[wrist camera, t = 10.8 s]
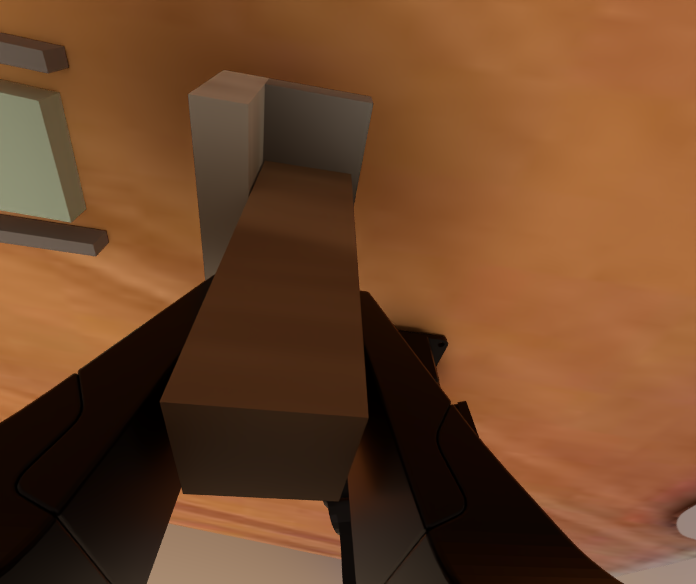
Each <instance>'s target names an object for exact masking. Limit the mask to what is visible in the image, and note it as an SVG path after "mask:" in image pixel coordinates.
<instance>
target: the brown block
mask: <svg viewBox="0 0 696 584" xmlns="http://www.w3.org/2000/svg"><path fill="white" fill-rule="evenodd" d="M188 100H189V110H190V121H191V132H192V143H193V153H194V164H195V175H196V185H197V196H198V207H199V218H200V228H201V239H202V250H203V260H204V271H205V280H207V279H208V278H210V277H211V276H212V275H214V274H215V276H214V278H213V280H212V283H211V285H210V287H209V290H208V292H207V294H206V297H205V299H204V301H203V303H202V306H201V308H200V310H199V313H198V315H197V317H196V319H195V322H194V324H193V326H192V329H191V331H190V333H189V335H188V338H187V340H186V342H185V345H184V347H183V349H182V351H181V354H180V356H179V358H178V361H177V363H176V365H175V368H174V370H173V372H172V374H171V377H170V379H169V381H168V384H167V386H166V388H165V390H164V393H163V395H162V397H161V400H160V406H161V410H162V413H163V417H164V421H165V425H166V429H167V433H168V437H169V441H170V445H171V449H172V452H173V456H174V460H175V464H176V468H177V472H178V476H179V480H180V484H181V488H182V491H183V494H194V495H215V496H236V497H256V498H277V499H298V500H318V501H339V499H340V497H341V494H342V491H343V488H344V485H345V483H346V480H347V477H348V474H349V471H350V469H351V466H352V463H353V460H354V457H355V455H356V452H357V449H358V446H359V443H360V441H361V438H362V435H363V432H364V429H365V427H366V424H367V421H368V418H369V416H368V402H367V388H366V374H365V360H364V346H363V332H362V318H361V304H360V290H359V276H358V262H357V248H356V234H355V220H354V202H355V197H356V192H357V186H358V181H359V176H360V171H361V165H362V160H363V155H364V150H365V145H366V139H367V134H368V129H369V124H370V118H371V113H372V108H373V101H372V98H371V97H370V96H364V95H359V94H353V93H348V92H342V91H337V90H331V89H326V88H320V87H315V86H309V85H304V84H298V83H293V82H288V81H282V80H277V79H271V78H266V77H260V76H255V75H249V74H244V73H238V72H233V71H227V70H223V71H221V72H220V73H218V74H217V75H215V76H214V77H212V78H211V79H209V80H208V81H206V82H205V83H204V84H202V85H201V86H199V87H198V88H196V89H195V90H193V91H192V92H190V93H189V94H188Z"/></svg>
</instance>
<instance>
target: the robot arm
mask: <svg viewBox="0 0 696 584" xmlns="http://www.w3.org/2000/svg"><path fill="white" fill-rule="evenodd" d="M214 276H215V274H214V275H212V276H211V277H210V278H208V279H207V280H205V281H204V282H203V283H201V284H200V285H198V286H197V287H195V288H194V289H193V290H191V291H190V292H188V293H187V294H186V295H184V296H183V297H181V298H180V299H178V300H177V301H176V302H174V303H173V304H171V305H170V306H169V307H167V308H166V309H164V310H163V311H161V312H160V313H159V314H157V315H156V316H154V317H153V318H152V319H150V320H149V321H147V322H146V323H145V324H143V325H142V326H140V327H139V328H137V329H136V330H135V331H133V332H132V333H130V334H129V335H128V336H126V337H125V338H123V339H122V340H120V341H119V342H118V343H116V344H115V345H113V346H112V347H111V348H109V349H108V350H106V351H105V352H104V353H102V354H101V355H99V356H98V357H96V358H95V359H94V360H92V361H91V362H89V363H88V364H87V365H85V366H84V367H82V368H81V369H79V370H78V374H76V373H74V374H72V375H71V376H69V377H68V378H66V379H65V380H64V381H62V382H61V383H59V384H58V385H57V386H55V387H54V388H52V389H51V390H49V391H48V392H46V393H45V394H43V395H42V396H40V397H39V398H37V399H36V400H35V401H33V402H32V403H30V404H29V405H27V406H26V407H24V408H23V409H21V410H20V411H18V412H17V413H15V414H13V415H12V416H10V417H9V418H7V419H5V420H4V421H2V422H1V423H0V584H147V581H148V578H149V575H150V573H151V570H152V567H153V564H154V561H155V559H156V556H157V553H158V550H159V548H160V545H161V542H162V539H163V537H164V534H165V531H166V528H167V526H168V523H169V520H170V517H171V514H172V512H173V509H174V506H175V503H176V501H177V498H178V495H179V492H180V489H181V484H180V480H179V476H178V472H177V468H176V464H175V460H174V456H173V452H172V449H171V445H170V441H169V437H168V433H167V429H166V425H165V421H164V417H163V413H162V410H161V406H160V400H161V397H162V395H163V393H164V390H165V388H166V386H167V384H168V381H169V379H170V377H171V374H172V372H173V370H174V368H175V365H176V363H177V361H178V358H179V356H180V354H181V351H182V349H183V347H184V345H185V342H186V340H187V338H188V335H189V333H190V331H191V329H192V326H193V324H194V322H195V319H196V317H197V315H198V313H199V310H200V308H201V306H202V303H203V301H204V299H205V297H206V294H207V292H208V290H209V287H210V285H211V283H212V280H213V278H214ZM360 304H361V318H362V332H363V346H364V360H365V374H366V388H367V402H368V416H369V418H368V421H367V424H366V427H365V429H364V432H363V435H362V438H361V441H360V443H359V446H358V449H357V452H356V455H355V457H354V460H353V463H352V466H351V469H350V471H349V474H348V477H347V480H346V483H345V485H344V488H343V491H342V494H341V497H340V499H339V501H323V502H324V505H325V506H326V507H327V508H328V510H329V515H330V519H331V523H332V525H333V528H334V530H335V532H336V533H337V534H339V535H340V542H341V558H342V578H343V584H624V583H622V582H620V581H618V580H617V579H616V578H614V577H613V576H611V575H610V574H609V573H607V572H606V571H605V570H603V569H602V568H601V567H600V566H598V565H597V564H596V563H595V562H593V561H592V560H591V559H590V558H589V557H588V556H587V555H585V554H584V553H583V552H582V551H581V550H580V549H579V548H578V547H577V546H576V545H575V544H574V543H573V542H572V541H571V540H570V539H569V538H568V537H567V536H566V535H565V534H564V533H563V531H562V530H561V529H560V528H559V527H558V526H557V525H556V524H555V523H554V521H553V520H552V519H551V518H550V517H549V516H548V515H547V514H546V513H545V512H544V510H543V509H542V508H541V507H540V506H539V505H538V504H537V503H536V502H535V500H534V499H533V498H532V497H531V496H530V495H529V494H528V493H527V492H526V491H525V489H524V488H523V487H522V486H521V485H520V484H519V483H518V482H517V481H516V479H515V478H514V477H513V476H512V475H511V474H510V473H509V472H508V471H507V470H506V468H505V467H504V466H503V465H502V464H501V463H500V461H499V460H498V459H497V458H496V457H495V456H494V455H493V453H492V452H491V451H490V450H489V449H488V448H487V446H486V445H485V444H484V443H483V442H482V440H481V439H480V438H479V436H478V433H477V430H476V427H475V425H474V422H473V419H472V416H471V413H470V411H469V408H468V405H467V402H466V401H462V402H458V404H454V405H453V404H452V405H451V401H450V399H449V398H448V397H447V395H446V394H445V393H444V391H443V390H442V389H441V387H440V384H439V377H438V373H437V369H436V366H437V364H438V362H439V360H440V359H441V357H442V355H443V353H444V351H445V350H446V348H447V346H448V342H447V339H446V338H445V337H443V336H437V335H430V334H422V333H415V332H407V331H400V330H397V329H396V328H395V326H394V325H393V324H392V322H391V321H390V320H389V318H388V317H387V316H386V314H385V313H384V312H383V310H382V309H381V308H380V306H379V305H378V304H377V302H376V301H375V300H374V298H373V297H372V296H371V294H370V293H369V292H367V291H360ZM441 342H442V343H441Z"/></svg>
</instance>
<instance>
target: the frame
mask: <svg viewBox="0 0 696 584" xmlns="http://www.w3.org/2000/svg"><path fill="white" fill-rule="evenodd" d="M0 63H1V64H6V65H11V66H15V67H20V68H25V69H30V70H34V71H39V72H44V73H51V72H55V71H59V70H62V69H66V68H69V67H68V62H67V58H66V53H65V49H64V46H59V45H55V44H50V43H46V42H41V41H37V40H32V39H28V38H23V37H19V36H14V35H9V34H5V33H0ZM0 242H1V243H8V244H15V245H22V246H29V247H35V248H42V249H49V250H56V251H63V252H69V253H76V254H83V255H90V256H97V255H98V254H99V253H100V252H101V250H102V249H103V248H104V247H105V246H106V245H107V244H108V243H109V241H108V237H107V233H106V231H104V230H97V229H91V228H85V227H78V226H72V225H66V224H59V223H53V222H46V221H40V220H34V219H27V218H21V217H15V216H8V215H2V214H0Z"/></svg>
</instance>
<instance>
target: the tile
mask: <svg viewBox="0 0 696 584" xmlns="http://www.w3.org/2000/svg"><path fill="white" fill-rule="evenodd" d="M0 210H2V211H8V212H14V213H19V214H25V215H31V216H37V217H42V218H48V219H54V220H60V221H65V222H72V221H73V220H75V219H76V218H77V217H78V216H79V215H80V214H81V213H82V212H83V211H85V210H86V205H85V201H84V197H83V192H82V188H81V184H80V179H79V175H78V171H77V166H76V162H75V157H74V153H73V149H72V144H71V140H70V136H69V131H68V127H67V123H66V118H65V114H64V109H63V105H62V101H61V96H60V93H59V92H55V91H50V90H46V89H41V88H37V87H32V86H28V85H24V84H19V83H15V82H10V81H6V80H1V79H0Z"/></svg>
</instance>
